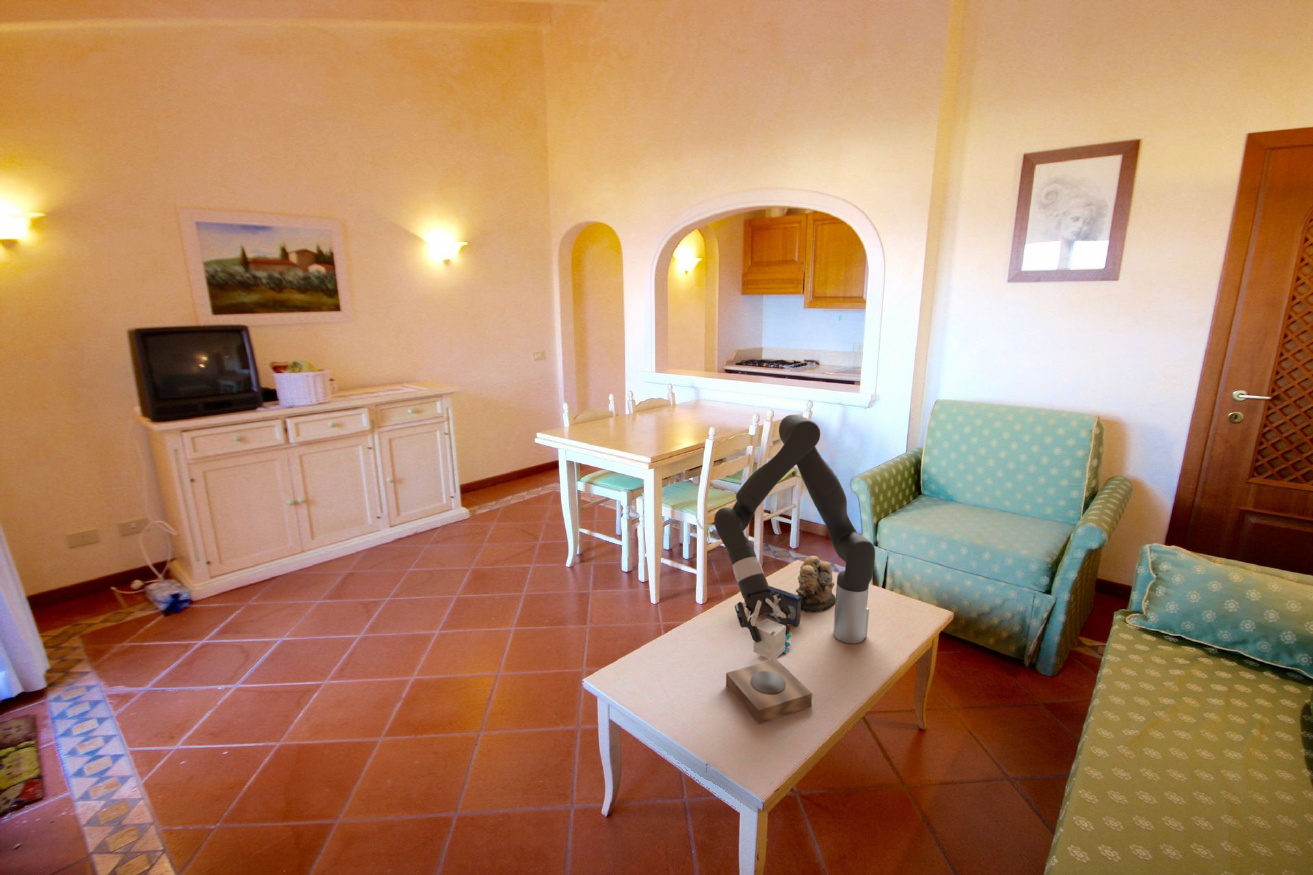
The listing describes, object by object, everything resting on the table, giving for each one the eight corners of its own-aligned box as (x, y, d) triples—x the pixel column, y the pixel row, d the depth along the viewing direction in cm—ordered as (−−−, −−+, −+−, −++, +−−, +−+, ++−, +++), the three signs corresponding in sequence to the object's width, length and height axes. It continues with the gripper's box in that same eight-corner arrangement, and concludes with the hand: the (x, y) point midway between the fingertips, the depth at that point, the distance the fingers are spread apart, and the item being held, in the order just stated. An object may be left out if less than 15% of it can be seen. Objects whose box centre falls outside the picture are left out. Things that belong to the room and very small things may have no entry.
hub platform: (775, 671, 165) (776, 657, 164) (811, 706, 150) (812, 692, 149) (725, 685, 158) (726, 671, 157) (758, 724, 144) (758, 709, 143)
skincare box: (764, 642, 156) (765, 617, 154) (785, 650, 152) (786, 625, 150) (752, 652, 151) (753, 626, 149) (773, 661, 147) (775, 635, 145)
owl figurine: (812, 618, 192) (815, 570, 188) (783, 605, 200) (785, 559, 197) (843, 600, 203) (846, 554, 199) (814, 588, 212) (817, 544, 208)
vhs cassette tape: (746, 608, 198) (747, 582, 196) (751, 605, 200) (752, 578, 198) (796, 628, 186) (797, 599, 184) (800, 624, 188) (802, 596, 186)
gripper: (732, 577, 151) (755, 640, 143) (779, 567, 156) (803, 628, 149) (722, 587, 157) (743, 648, 149) (767, 577, 162) (789, 635, 155)
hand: (772, 638), depth 149 cm, fingers closed on skincare box, 8 cm apart
